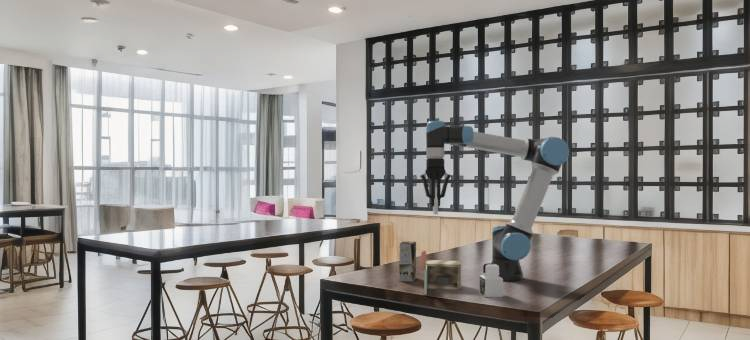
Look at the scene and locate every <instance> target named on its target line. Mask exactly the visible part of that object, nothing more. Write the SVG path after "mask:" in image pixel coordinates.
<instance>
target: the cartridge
mask: <svg viewBox="0 0 750 340" xmlns="http://www.w3.org/2000/svg"><path fill="white" fill-rule="evenodd" d="M437 285H447V286H449V276H437Z"/></svg>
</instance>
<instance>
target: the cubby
mask: <svg viewBox="0 0 750 340" xmlns="http://www.w3.org/2000/svg"><path fill="white" fill-rule="evenodd" d="M426 265H428V273H427V289H434V290H454V291H455V290H456V291H457V290H458V291H459V290H461V286H462V285H461V284H462V283H461V281H462V276H461V275H462V273H461V272H462V270H461V269H462V261H461V260H442V259H441V260H438V259H437V260H436V259H426ZM437 276H449V286H447V285H437Z"/></svg>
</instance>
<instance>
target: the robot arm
mask: <svg viewBox="0 0 750 340" xmlns="http://www.w3.org/2000/svg"><path fill="white" fill-rule="evenodd" d="M425 129H426V130H425V131H426V133H425V135H426V139H425V140H426V143H425V144H426V149H425V150H426V163H425V164H426V165H425V166H426V169H425V172H423V173H422V174H420V175H419V177H420V178H421V181H422V184H423V188H424V191H425V192H424V193H425V196H426V197H427V198H429V199H430V206H431V207H432V214H433V215H439V207H440V206H441V199H442V198H445V196H446V191H447V188H448V183H449V180H450V178H451V176H452V175H451V174H449V173H447V172H446V169H445V159H444V158H445V145H450V146H453V147H455V146H457V147H463V148H468V149H474V150H475V149H476V150H479V151H486V152H489V153H490V152H491V153H497V154H503V155H508V156H512V157H513V156H514V157H520V159H522V161H528V162H531V163H530V164H531V166H532V170H531V172H530V175H529V177H528V180H527V182H526V185H525V187H524V190H523V193H522V195H521V198H520V199H519V202H518V205H517V207H516V209H515V211H514V215H513V217H512V219H511V220H510V221H508V222H506V224H505V225H495V226H493V228H492V232H491V234H492V235H491V236H492V239H491V240H492V244H491V246H492V255H491V257H492V258H491V262H490V263H493V264H497V265H499V275H498V276H499V277H501V278H503V282H513V281H514V282H515V281H517V282H518V281H522V280H523V279H524V272H523V269H522V266H521V263H520V260H523V259H524V258H526V257H527V256H528V255H529V253H530V251H531V246H532V245H531V240H532V239H533V235H534V232H533V229H532V228H533V225H534V223H535V220H536V219H537V216H538V214H539V211H540V208H541V206H542V203H543V202H544V198H545V197H546V194H547V191H548V189H549V186H550V184H551V181H552V180H553V176H554V175H556V174H557V175H558V174H559V171H561V170H560V169H561V167H562V165H563V164H565V162H566V161H567V160H568V158H569V156H570V148H569V146H568V143H567V142H566V141H565V140H564V139H562V138H560V137H558V136H557V137H556V136H549V137H545V138H538V139H537V138H536V139H534V138H525V139H520V138H515V137H508V136H501V135H496V134H490V133H484V132H480V131H479V132H478V131H474V129H473V126H472V125H471V126H470V125H469V126H468V125H446V124H445V122H444V121H442V120H431V121H428V122H427V123H426V128H425ZM427 178H429V180H430V187H429V185H428V180H427ZM443 178H444V180H443V183H442V186H441V180H442V179H443ZM435 183H436V184H435ZM435 185H436V188H435ZM441 187H442V188H441ZM429 188H430V189H429ZM435 190H436V191H435ZM435 192H436V196H435ZM435 197H436V198H435Z"/></svg>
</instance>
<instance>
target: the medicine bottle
mask: <svg viewBox="0 0 750 340" xmlns="http://www.w3.org/2000/svg"><path fill="white" fill-rule="evenodd" d="M482 272H483V273H482V274H481V275H479V294H480V295H481V296H482V297H484V298H503V297H504V281H503V278H501V277H499V276H498V275H499V265H497V264H493V263H491V262H490V263H484V264H483V265H482Z"/></svg>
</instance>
